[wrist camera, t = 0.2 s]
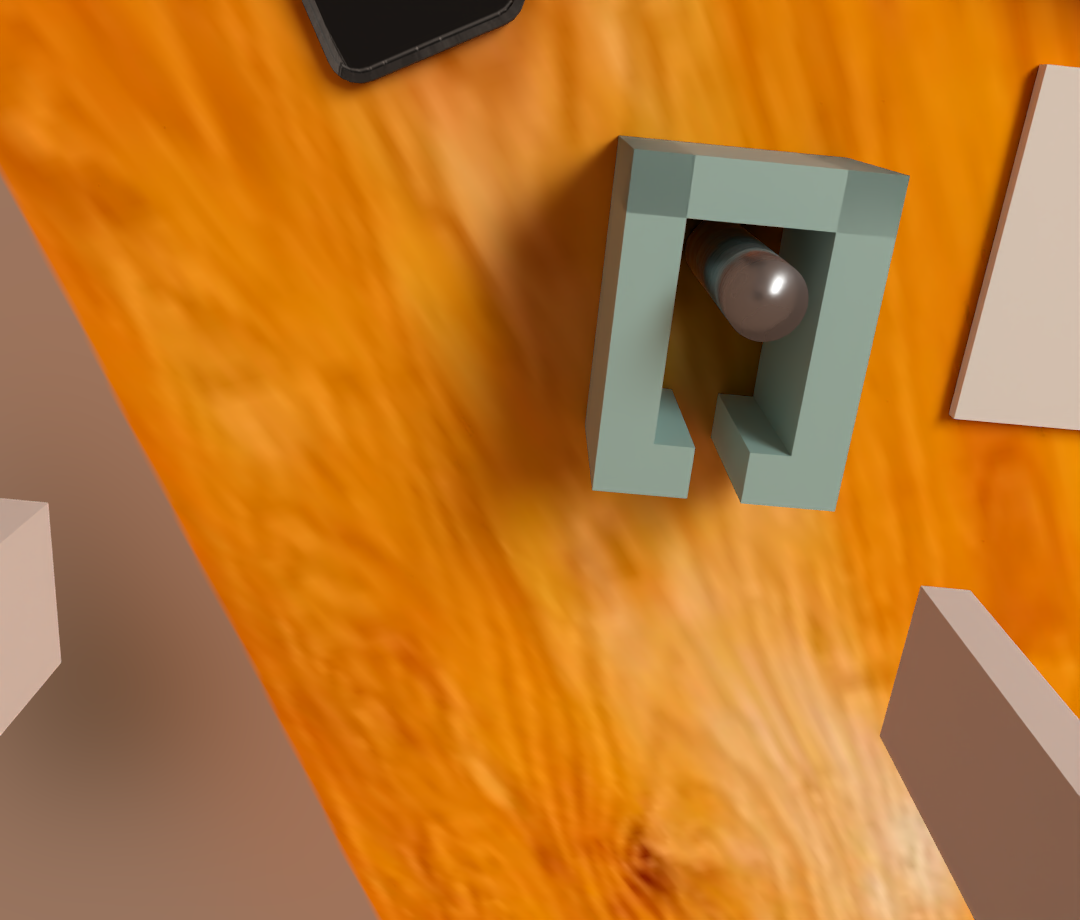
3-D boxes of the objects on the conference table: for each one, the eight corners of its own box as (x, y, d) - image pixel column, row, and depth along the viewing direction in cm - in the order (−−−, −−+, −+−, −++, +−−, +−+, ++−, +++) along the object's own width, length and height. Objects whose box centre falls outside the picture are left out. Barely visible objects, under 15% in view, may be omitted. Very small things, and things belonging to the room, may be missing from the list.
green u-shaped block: (618, 135, 38) (634, 148, 32) (847, 157, 38) (909, 175, 32) (584, 426, 43) (592, 490, 36) (790, 444, 43) (834, 511, 36)
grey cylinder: (690, 214, 39) (732, 256, 30) (754, 220, 39) (815, 264, 30) (680, 279, 40) (719, 338, 31) (743, 284, 40) (799, 345, 31)
